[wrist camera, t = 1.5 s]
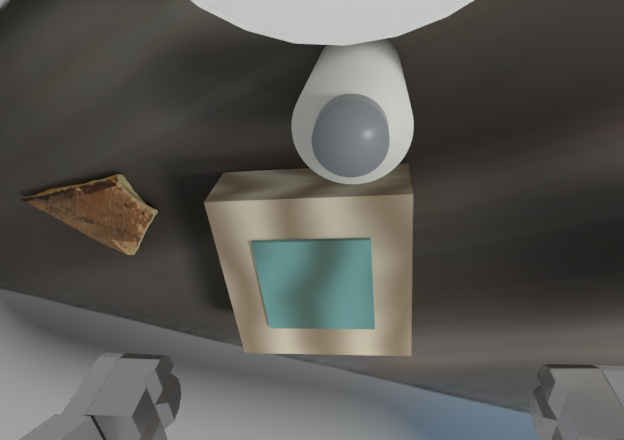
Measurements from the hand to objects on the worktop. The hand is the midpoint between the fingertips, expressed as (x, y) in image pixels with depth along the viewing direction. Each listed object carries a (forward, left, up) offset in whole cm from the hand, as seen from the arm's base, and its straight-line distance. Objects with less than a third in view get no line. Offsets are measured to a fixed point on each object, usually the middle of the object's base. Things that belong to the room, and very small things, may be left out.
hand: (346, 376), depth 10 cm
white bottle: (0, -1, -25) cm, 25 cm away
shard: (+24, +10, -26) cm, 37 cm away
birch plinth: (+4, +14, -25) cm, 29 cm away
